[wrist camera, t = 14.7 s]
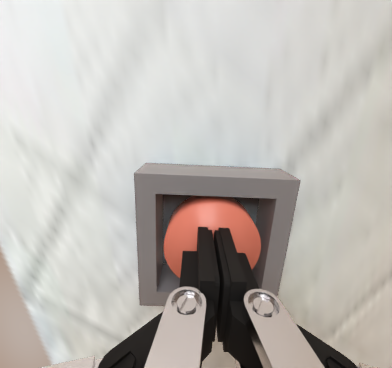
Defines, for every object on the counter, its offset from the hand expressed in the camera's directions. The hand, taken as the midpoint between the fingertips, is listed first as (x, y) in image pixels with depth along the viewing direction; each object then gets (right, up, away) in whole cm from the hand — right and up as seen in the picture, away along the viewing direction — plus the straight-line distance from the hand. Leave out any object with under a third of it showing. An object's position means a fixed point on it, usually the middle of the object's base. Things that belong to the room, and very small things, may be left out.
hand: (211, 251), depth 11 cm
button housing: (0, +1, +2) cm, 3 cm away
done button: (0, +1, +2) cm, 2 cm away
